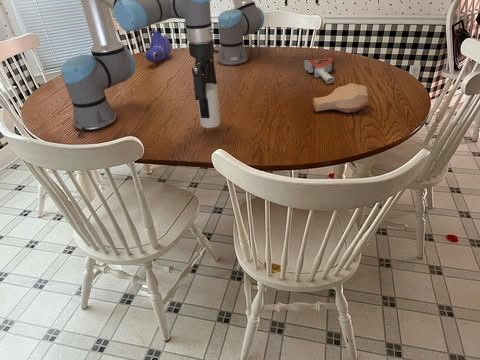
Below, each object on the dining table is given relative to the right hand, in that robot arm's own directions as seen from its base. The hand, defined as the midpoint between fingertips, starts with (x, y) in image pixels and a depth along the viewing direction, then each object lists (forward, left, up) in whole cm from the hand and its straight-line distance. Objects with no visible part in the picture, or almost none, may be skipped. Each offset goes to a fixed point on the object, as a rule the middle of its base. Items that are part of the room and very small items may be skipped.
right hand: (301, 4), depth 157 cm
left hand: (+63, -40, -20) cm, 77 cm away
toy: (-18, -72, -27) cm, 79 cm away
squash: (+52, +7, -27) cm, 59 cm away
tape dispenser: (+16, +7, -27) cm, 32 cm away
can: (+63, -40, -24) cm, 79 cm away
